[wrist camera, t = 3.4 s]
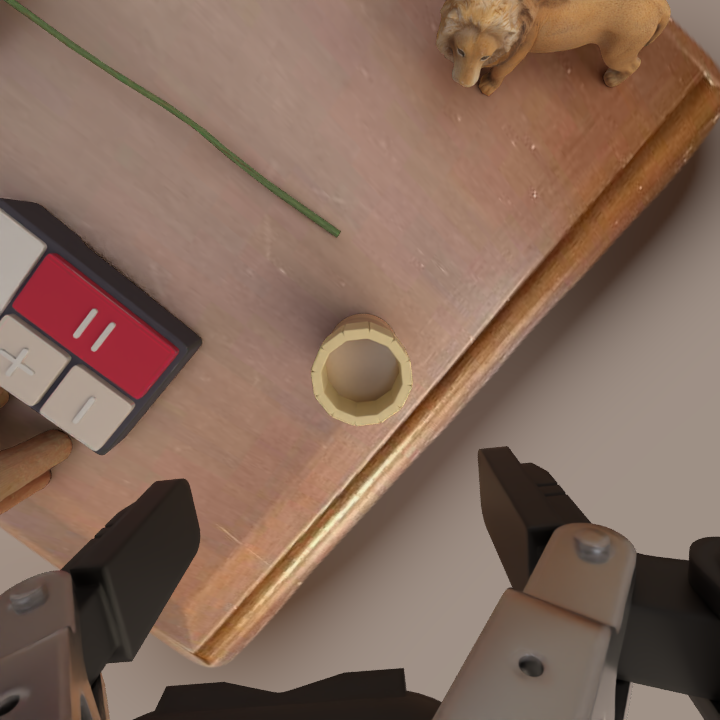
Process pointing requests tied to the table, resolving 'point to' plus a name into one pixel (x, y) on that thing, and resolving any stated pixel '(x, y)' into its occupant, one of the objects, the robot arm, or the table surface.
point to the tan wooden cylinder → (362, 365)
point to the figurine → (29, 463)
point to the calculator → (79, 331)
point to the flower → (174, 111)
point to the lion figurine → (545, 34)
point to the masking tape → (370, 409)
